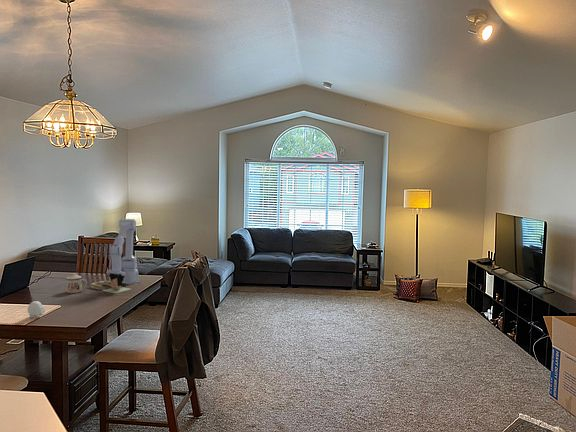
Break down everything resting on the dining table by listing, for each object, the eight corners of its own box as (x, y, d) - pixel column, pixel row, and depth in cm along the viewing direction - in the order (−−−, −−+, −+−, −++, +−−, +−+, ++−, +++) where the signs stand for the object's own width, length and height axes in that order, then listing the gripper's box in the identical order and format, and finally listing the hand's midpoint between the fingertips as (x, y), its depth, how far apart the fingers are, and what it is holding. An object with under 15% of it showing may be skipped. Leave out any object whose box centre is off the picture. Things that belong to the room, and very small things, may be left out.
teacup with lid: (65, 293, 285) (64, 275, 284) (67, 290, 293) (66, 272, 292) (86, 292, 288) (85, 274, 287) (87, 289, 297) (87, 271, 296)
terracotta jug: (117, 287, 298) (117, 278, 297) (122, 288, 295) (122, 278, 295) (108, 289, 292) (108, 280, 292) (114, 290, 290) (113, 280, 289)
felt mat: (119, 286, 303) (119, 286, 303) (132, 289, 296) (132, 288, 296) (101, 290, 292) (101, 290, 292) (114, 293, 286) (114, 293, 286)
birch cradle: (105, 284, 311) (105, 280, 310) (116, 286, 304) (116, 282, 304) (89, 287, 301) (89, 283, 300) (100, 290, 294) (100, 286, 294)
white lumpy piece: (26, 302, 232) (36, 298, 244) (26, 319, 232) (36, 314, 244) (39, 302, 233) (48, 298, 245) (39, 318, 233) (48, 314, 245)
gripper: (103, 264, 294) (104, 285, 295) (118, 266, 286) (119, 288, 287) (113, 262, 300) (113, 283, 301) (127, 264, 292) (128, 285, 293)
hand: (117, 285), depth 294 cm, fingers closed on terracotta jug, 5 cm apart
